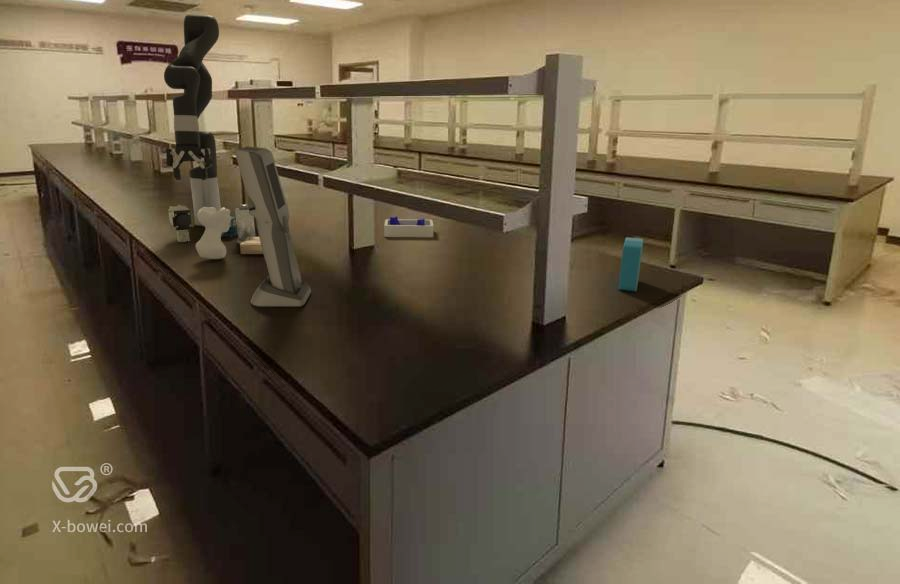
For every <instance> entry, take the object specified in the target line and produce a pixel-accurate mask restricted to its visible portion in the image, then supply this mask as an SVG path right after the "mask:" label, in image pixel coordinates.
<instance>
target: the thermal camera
mask: <svg viewBox="0 0 900 584" xmlns="http://www.w3.org/2000/svg"><path fill="white" fill-rule="evenodd" d="M234 155H235V159H236V161H237V164H238V168H239V171H240V175H241V178H242V182H243V186H244V189H245V191H246V194H247V205H248V206H247V207H248V209H249V214H250V215H251V216H254V220H255V226H256V230H257V234H258V237H259V238H260V242H261V247H262V250H263V254H262V255H263V257H264V261H265V264H266V268H267V271H268V275H267V276H266V278H264V280H263V281H262V282H261V283H260V284H259V286H258V287H257V288H256V290H255V291H254V293H253V294H252V297H251V300H250V303H251V305H252V306H253V307H258V308H267V307H268V308H300V307H303V306H305V304H306V302H307V300H308V299H309V297H310V295H311V292H312V290H311V287H310V285H309V284H308V283H307V282H305V281H302V277H301V272H300V267H299V263H298V260H297V256H296V252H295V251H296V250H295V247H294V244H293V239H292V238H293V237H292V236H291V235H292V233H291V231H290V226H289V225H290V223H289V222H290V211H289V206H288V203H287V199H286V196H285V192H284V189H283V187H282V182H281V179H280V176H279V172H278V169H277V165H276V162H275V158H274V154H273V153H272V151H271V150H269V149H268V148H265V147H260V146H259V147H257V146H244V147H241V148H237V149H235V150H234Z"/></svg>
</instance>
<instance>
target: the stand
mask: <svg viewBox="0 0 900 584" xmlns="http://www.w3.org/2000/svg"><path fill="white" fill-rule="evenodd" d="M239 249H240V254H241V255H264V254H263V250H262V247H261V242H260V238H259V236H255V237H248V238H247V239H245V240H244V241H243V242H242V243H241V244H239Z"/></svg>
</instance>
